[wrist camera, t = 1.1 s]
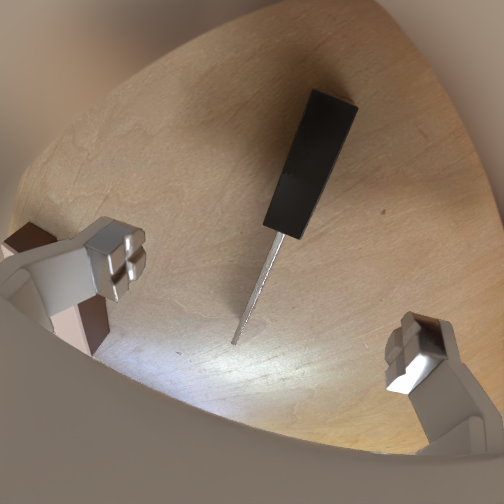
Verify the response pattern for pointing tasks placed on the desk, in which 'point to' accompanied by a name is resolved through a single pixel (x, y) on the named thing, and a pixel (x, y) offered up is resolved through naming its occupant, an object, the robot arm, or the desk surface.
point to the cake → (76, 317)
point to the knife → (304, 175)
